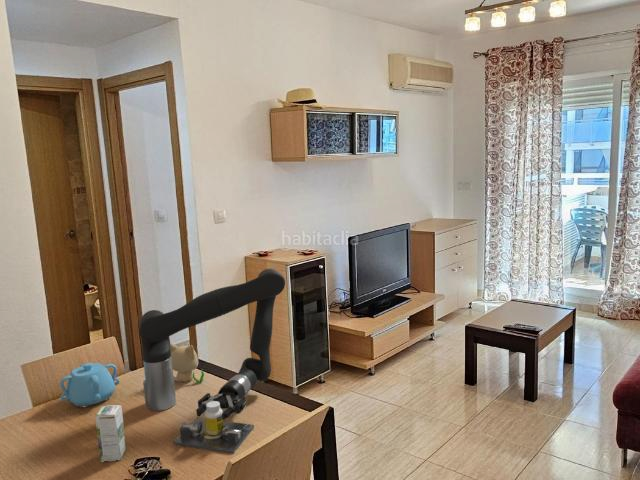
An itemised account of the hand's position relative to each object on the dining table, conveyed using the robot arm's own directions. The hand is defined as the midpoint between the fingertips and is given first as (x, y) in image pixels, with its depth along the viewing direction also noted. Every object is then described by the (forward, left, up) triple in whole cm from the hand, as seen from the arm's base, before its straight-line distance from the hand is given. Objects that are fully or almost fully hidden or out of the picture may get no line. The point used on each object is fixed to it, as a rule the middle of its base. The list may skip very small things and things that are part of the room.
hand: (210, 415), depth 152 cm
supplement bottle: (0, +2, -7) cm, 8 cm away
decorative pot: (-57, +15, -9) cm, 60 cm away
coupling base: (-1, +3, -8) cm, 9 cm away
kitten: (-31, +36, -9) cm, 48 cm away
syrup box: (-25, -13, -9) cm, 30 cm away
